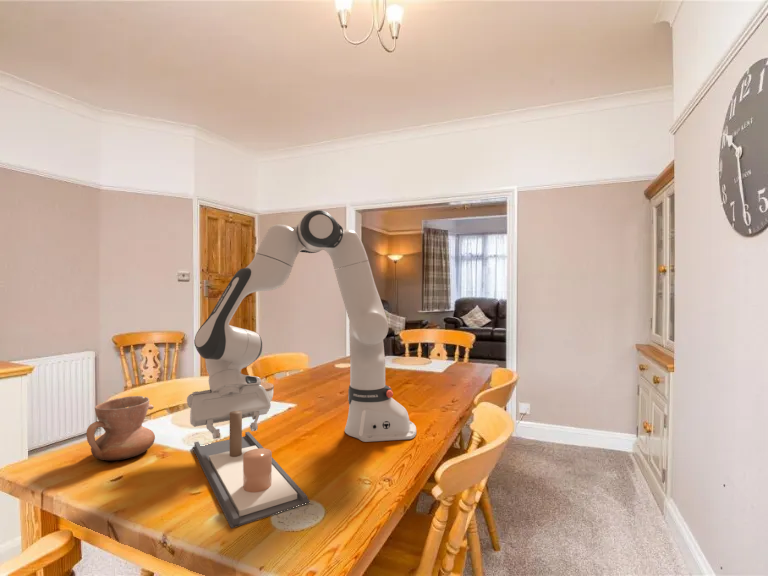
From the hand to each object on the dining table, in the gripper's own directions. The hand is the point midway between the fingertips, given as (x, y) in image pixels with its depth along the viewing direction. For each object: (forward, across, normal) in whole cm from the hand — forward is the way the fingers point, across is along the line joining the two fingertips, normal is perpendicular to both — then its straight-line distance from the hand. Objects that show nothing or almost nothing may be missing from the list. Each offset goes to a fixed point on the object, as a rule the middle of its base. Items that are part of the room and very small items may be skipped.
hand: (236, 433), depth 105 cm
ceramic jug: (-10, -24, +21) cm, 33 cm away
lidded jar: (-25, +19, +36) cm, 48 cm away
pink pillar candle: (+17, 0, -9) cm, 19 cm away
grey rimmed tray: (+10, 0, +1) cm, 10 cm away
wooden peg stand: (+13, 0, -3) cm, 14 cm away
